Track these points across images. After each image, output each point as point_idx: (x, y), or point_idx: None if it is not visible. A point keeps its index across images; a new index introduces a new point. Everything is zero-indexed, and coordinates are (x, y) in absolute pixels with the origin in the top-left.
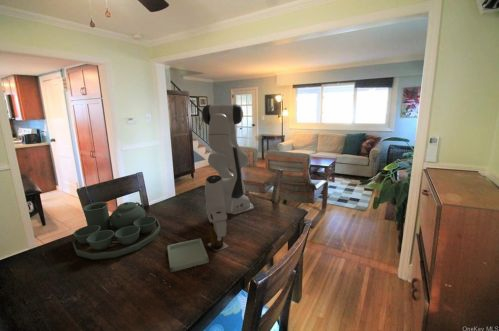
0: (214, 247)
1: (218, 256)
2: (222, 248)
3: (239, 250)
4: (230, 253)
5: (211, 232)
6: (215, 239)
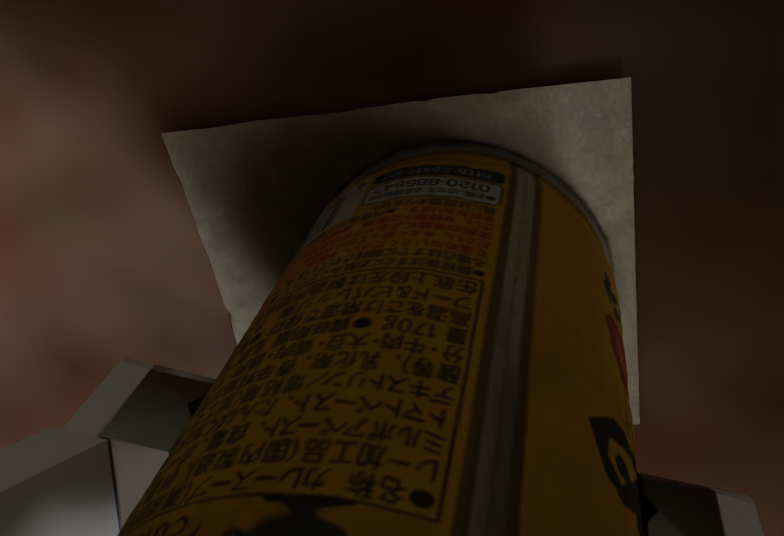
0: (356, 180)
1: (2, 109)
2: (242, 301)
3: None
4: (42, 336)
5: (269, 455)
6: (241, 339)
